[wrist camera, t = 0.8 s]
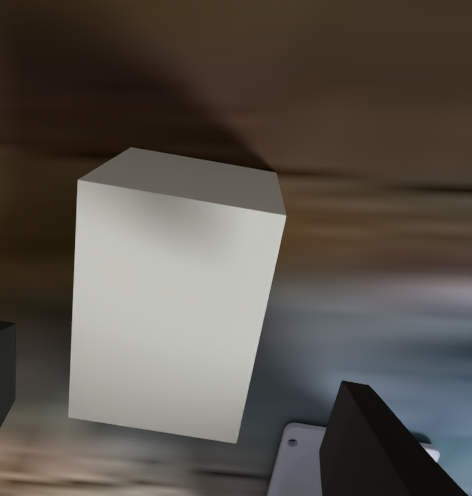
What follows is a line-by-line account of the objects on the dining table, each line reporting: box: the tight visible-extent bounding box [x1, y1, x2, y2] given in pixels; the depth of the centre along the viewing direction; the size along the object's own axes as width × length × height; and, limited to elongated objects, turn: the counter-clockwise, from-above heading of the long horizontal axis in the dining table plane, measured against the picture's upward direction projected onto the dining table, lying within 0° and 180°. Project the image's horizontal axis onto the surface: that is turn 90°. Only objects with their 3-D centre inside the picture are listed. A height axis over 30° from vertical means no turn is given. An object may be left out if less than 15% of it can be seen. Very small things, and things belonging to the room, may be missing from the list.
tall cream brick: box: [68, 147, 286, 444], centre depth 17 cm, size 9×6×6 cm
